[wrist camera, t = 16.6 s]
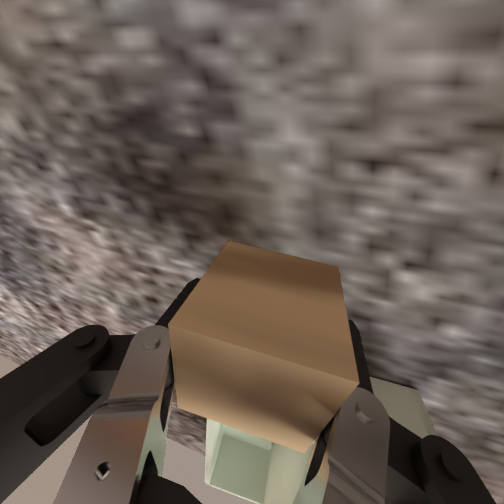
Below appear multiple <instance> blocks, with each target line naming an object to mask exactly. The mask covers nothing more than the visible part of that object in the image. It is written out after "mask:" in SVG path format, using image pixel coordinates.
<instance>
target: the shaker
mask: <svg viewBox="0 0 504 504" xmlns="http://www.w3.org/2000/svg"><path fill="white" fill-rule="evenodd" d="M312 449H313V446H312V445H311V446H310V447H309V448H308V450H307V451H306V452H305V453H302V452H299V451H296V450H293V449H291V448H288V447H285V446H282V445H280V444H277V443H274V442H272V446H271V453H270V460H269V467H268V474H267V481H266V488H265V496H264V503H263V504H292V503H293V501H294V499H295V496H296V494H297V492H298V490H299V488H300V486H301V483H302V480H303V477H304V474H305V471H306V467H307V464H308V461H309V458H310V455H311V452H312Z"/></svg>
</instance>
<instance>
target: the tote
mask: <svg viewBox="0 0 504 504" xmlns="http://www.w3.org/2000/svg"><path fill="white" fill-rule="evenodd" d="M370 381H371V385H372V389H373V393H374V395H375V396H376V397H377V398H378V399H379V400H380V402H381V403H382V404H383V406H384V407H385V409H386V411H387V413H388V415H389V416H390V417H391V418H392V419H393V420H395V421H396V422H398V423H399V424H401V425H402V426H404V427H405V428H407V429H408V430H410V431H411V432H413V433H414V434H416V435H418V436H419V437H421V438H424V437H425V436H428V435H436V436H438V435H437V433H436V431H435V428H434V426H433V424H432V421H431V419H430V417H429V414H428V412H427V410H426V407H425V405H424V403H423V400H422V398H421V396H420V393H419V391H418V390H416V389H412V388H409V387H405V386H402V385H398V384H394V383H391V382H387V381H384V380H380V379H377V378H373V377H370ZM315 440H316V439H315ZM314 443H315V441H314V442H313V443H312V444H311V445H312V446H314ZM271 446H272V442H271V441H268V440H266V439H263V438H260V437H257V436H255V435H252V434H249V433H246V432H244V431H241V430H238V429H235V428H232V427H230V426H227V425H224V424H221V423H219V422H216V421H213V420H210V419H208V418H207V431H206V462H205V484H206V485H209V486H212V487H214V488H217V489H220V490H222V491H225V492H227V493H230V494H233V495H235V496H238V497H241V498H243V499H246V500H248V501H251V502H254V503H257V504H263V503H264V496H265V488H266V481H267V474H268V467H269V460H270V453H271Z"/></svg>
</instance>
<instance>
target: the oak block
mask: <svg viewBox="0 0 504 504" xmlns="http://www.w3.org/2000/svg"><path fill="white" fill-rule="evenodd" d="M168 327H169V336H170V344H171V353H172V361H173V370H174V379H175V387H176V396H177V404H178V408H180V409H183V410H185V411H188V412H191V413H194V414H197V415H199V416H202V417H205V418H208V419H210V420H213V421H216V422H219V423H221V424H224V425H227V426H230V427H232V428H235V429H238V430H241V431H244V432H246V433H249V434H252V435H255V436H257V437H260V438H263V439H266V440H268V441H271V442H274V443H277V444H280V445H282V446H285V447H288V448H291V449H293V450H296V451H299V452H302V453H305V452H306V451H307V450H308V448H309V447H310V446H311V444H312V443H313V442H314V441H315V439H316V438H317V437H318V436H319V434H320V433H321V432H322V430H323V429H324V428H325V427H326V425H327V424H328V423H329V421H330V420H331V419H332V418H333V416H334V415H335V414H336V413H337V411H338V410H339V409H340V407H341V406H342V405H343V404H344V402H345V401H346V400H347V398H348V397H349V396H350V395H351V393H352V392H353V391H354V390H355V388H356V387H357V386H358V384H359V377H358V372H357V366H356V361H355V356H354V350H353V345H352V339H351V334H350V328H349V323H348V318H347V312H346V307H345V301H344V296H343V290H342V285H341V280H340V274H339V269H338V267H336V266H332V265H328V264H324V263H320V262H316V261H312V260H307V259H303V258H299V257H295V256H291V255H287V254H283V253H278V252H274V251H270V250H266V249H262V248H258V247H253V246H249V245H245V244H241V243H237V242H233V241H228V242H227V244H226V245H225V247H224V248H223V249H222V251H221V252H220V253H219V255H218V256H217V258H216V259H215V260H214V262H213V263H212V264H211V266H210V267H209V269H208V270H207V271H206V273H205V274H204V275H203V277H202V278H201V280H200V281H199V282H198V284H197V285H196V287H195V288H194V289H193V291H192V292H191V293H190V295H189V296H188V298H187V299H186V300H185V302H184V303H183V304H182V306H181V307H180V309H179V310H178V311H177V313H176V314H175V315H174V317H173V318H172V320H171V321H170V322H169V324H168Z"/></svg>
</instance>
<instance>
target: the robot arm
mask: <svg viewBox="0 0 504 504" xmlns="http://www.w3.org/2000/svg"><path fill="white" fill-rule="evenodd" d="M200 280H201V279H199V278H196V279H194V280H192V281H191V282H189V283H188V284H187V285H186V286H185V287H184V289H183V290H182V292H181V293H180V294H179V295H178V296H177V299H175V300H174V301H173V303H172V304H171V305H170V307H169V308H168V309H167V310H166V312H165V313H164V314H163V315H162V317H161V318H160V319H159V320H158V322H157V323H156V324H155V325H154V326H149V327H146V328H144V329H142V330H140V331H139V332H138V333H137V334H135V335H109V332H108V330H107V329H106V328H105V327H103V326H101V325H88V326H84V327H82V328H79V329H77V330H75V331H74V332H72V333H70V334H69V335H67V336H66V337H64V338H63V339H61V340H59V341H58V342H56V343H55V344H53V345H52V346H50V347H49V348H47V349H46V350H44V351H42V352H41V353H39V354H38V355H36V356H35V357H33V358H32V359H30V360H28V361H27V362H25V363H24V364H22V365H21V366H19V367H18V368H16V369H15V370H13V371H11V372H10V373H8V374H7V375H5V376H4V377H2V378H1V379H0V504H1V503H2V502H3V501H4V500H5V499H6V498H7V497H8V496H9V495H10V494H11V493H12V492H13V491H14V490H15V489H16V488H17V487H18V486H19V485H20V484H21V483H22V482H23V481H25V480H26V479H27V478H28V477H29V476H30V474H32V473H33V472H34V471H35V470H36V469H37V468H38V467H39V466H40V465H41V464H42V463H43V462H44V461H45V460H46V459H47V458H48V457H49V456H50V455H51V454H52V453H53V452H54V451H55V450H56V449H57V448H58V447H59V446H60V445H61V444H62V443H63V442H64V441H65V440H66V439H67V438H68V437H70V435H72V434H73V433H74V432H75V431H76V430H77V429H78V428H79V427H80V426H81V425H82V423H84V422H85V421H86V420H87V419H88V418H89V417H90V416H91V415H92V416H91V418H90V420H89V422H88V425H87V427H86V429H85V431H84V434H83V436H82V438H81V441H80V443H79V445H78V447H77V450H76V452H75V455H74V457H73V459H72V461H71V464H70V466H69V468H68V470H67V473H66V475H65V477H64V480H63V482H62V484H61V487H60V489H59V491H58V493H57V496H56V498H55V500H54V503H53V504H202V503H201V502H200V501H198V499H197V498H195V497H194V496H193V495H192V494H191V493H190V492H189V491H188V490H187V489H186V488H185V487H184V486H182V485H180V484H177V483H175V482H172V481H170V480H167V479H165V478H162V477H161V476H162V470H163V465H164V458H165V449H166V435H167V428H168V423H169V417H170V411H171V406H172V400H173V394H174V389H175V379H174V370H173V361H172V353H171V344H170V336H169V327H168V324H169V322H170V321H171V320H172V318H173V317H174V315H175V314H176V313H177V311H178V310H179V309H180V307H181V306H182V304H183V303H184V302H185V300H186V299H187V298H188V296H189V295H190V293H191V292H192V291H193V289H194V288H195V287H196V285H197V284H198V282H199V281H200ZM348 323H349V328H350V334H351V339H352V345H353V350H354V356H355V361H356V366H357V372H358V377H359V384H358V386H357V387H356V388H355V390H354V391H353V392H352V393H351V395H350V396H349V397H348V398H347V400H346V401H345V402H344V404H343V405H342V406H341V407H340V409H339V410H338V411H337V413H336V414H335V415H334V416H333V418H332V419H331V420H330V421H329V423H328V424H327V425H326V427H325V428H324V429H323V430H322V432H321V433H320V434H319V436H318V437H317V438H316V440H315V443H314V446H313V449H312V452H311V455H310V458H309V461H308V464H307V467H306V471H305V474H304V477H303V480H302V483H301V486H300V488H299V490H298V492H297V494H296V496H295V499H294V501H293V503H292V504H496V503H495V501H494V499H493V498H492V496H491V495H490V493H489V491H488V490H487V488H486V487H485V485H484V483H483V482H482V480H481V479H480V477H479V476H478V474H477V472H476V471H475V469H474V468H473V466H472V465H471V463H470V462H469V461H468V459H467V458H466V457H465V456H464V455H463V453H462V452H461V451H460V450H459V449H457V448H456V447H455V446H454V445H453V444H451V443H450V442H449V441H447V440H446V439H444V438H442V437H439V436H436V435H428V436H425V437H424V438H421V437H419V436H418V435H416V434H414V433H413V432H411V431H410V430H408V429H407V428H405V427H404V426H402V425H401V424H399V423H398V422H396V421H395V420H393V419H392V418H391V417H390V416H389V415H388V413H387V411H386V409H385V407H384V406H383V404H382V403H381V402H380V400H379V399H378V398H377V397H376V396H375V395H374V393H373V389H372V385H371V381H370V376H369V372H368V367H367V363H366V359H365V354H364V350H363V346H362V344H361V343H362V341H361V337H360V332H359V330H358V329H357V327H356V325H355V324H354V322H353V321H352V320H348ZM106 400H107V401H106ZM105 401H106V402H105ZM104 402H105V403H104ZM103 403H104V404H103ZM105 473H107V474H108V475H107V476H106V477H105V478H104V479H103V480H102V477H103V476H104V474H105Z"/></svg>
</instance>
